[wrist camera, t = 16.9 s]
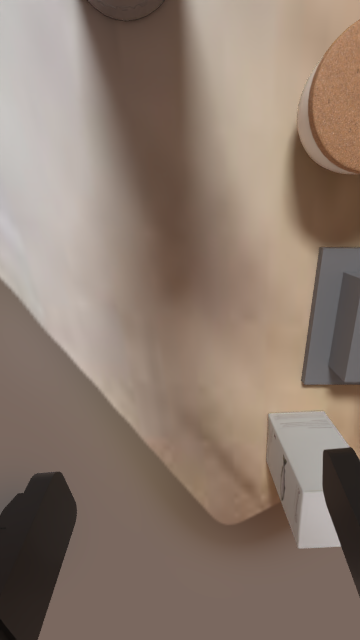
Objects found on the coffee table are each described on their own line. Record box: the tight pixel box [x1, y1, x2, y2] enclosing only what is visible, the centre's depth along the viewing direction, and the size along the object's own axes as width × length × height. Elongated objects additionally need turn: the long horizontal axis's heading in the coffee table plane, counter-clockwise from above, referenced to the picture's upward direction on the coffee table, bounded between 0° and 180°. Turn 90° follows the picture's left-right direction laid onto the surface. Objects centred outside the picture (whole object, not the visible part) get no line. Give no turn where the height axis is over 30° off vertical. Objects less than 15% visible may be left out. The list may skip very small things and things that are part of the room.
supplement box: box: [266, 411, 350, 548], centre depth 38 cm, size 7×7×13 cm
